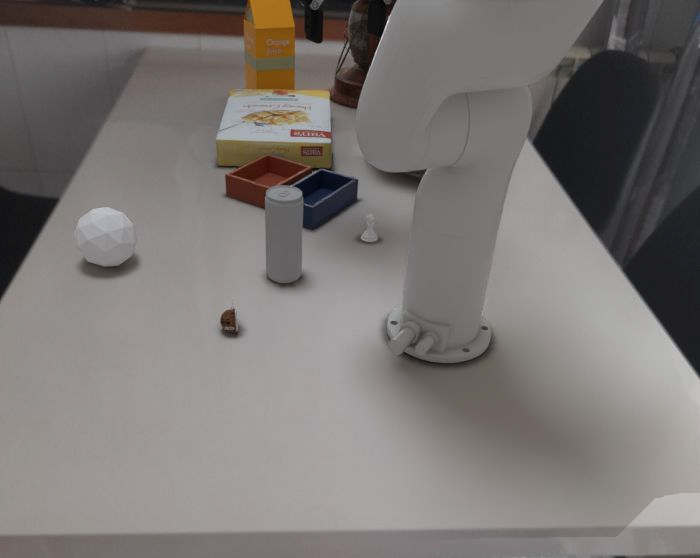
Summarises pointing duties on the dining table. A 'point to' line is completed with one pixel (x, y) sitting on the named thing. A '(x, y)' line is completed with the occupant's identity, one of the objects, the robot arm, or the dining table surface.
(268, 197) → the beverage can
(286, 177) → the terracotta bin
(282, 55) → the orange juice
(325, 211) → the navy bin
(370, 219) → the chess pawn
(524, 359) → the dining table surface
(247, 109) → the cereal box
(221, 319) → the chocolate
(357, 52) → the lantern
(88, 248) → the geometric ball
